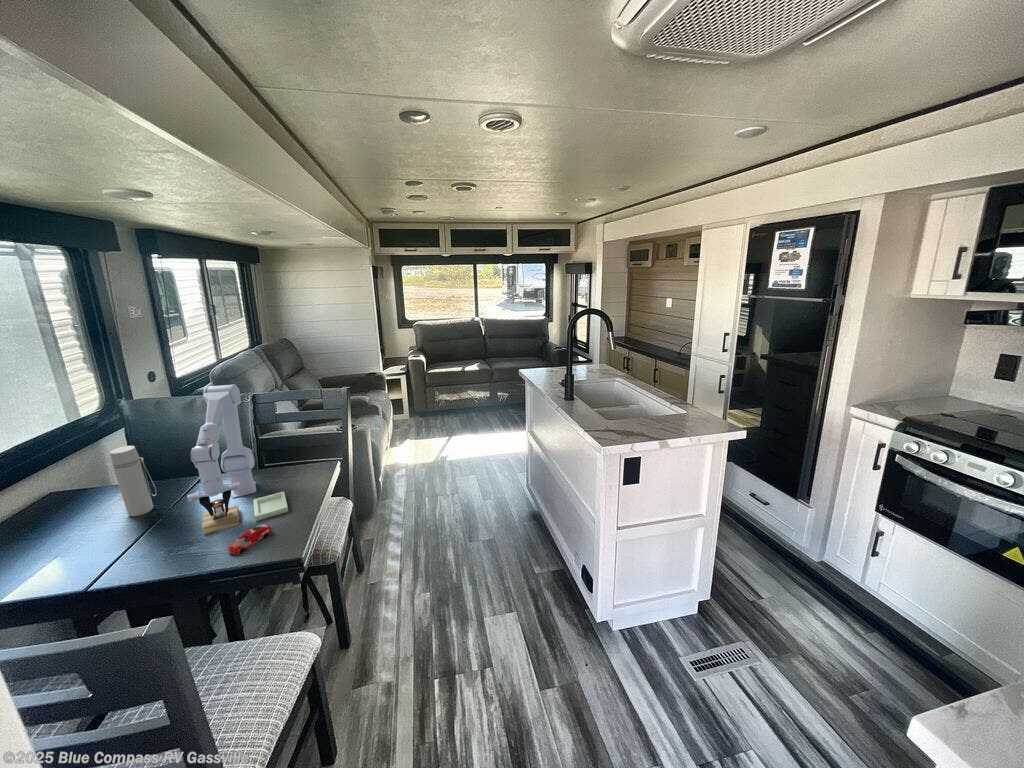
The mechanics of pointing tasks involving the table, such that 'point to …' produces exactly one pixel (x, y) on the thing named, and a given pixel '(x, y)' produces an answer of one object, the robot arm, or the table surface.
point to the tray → (270, 506)
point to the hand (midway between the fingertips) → (219, 512)
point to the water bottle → (132, 480)
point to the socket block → (220, 520)
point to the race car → (249, 539)
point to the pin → (218, 508)
